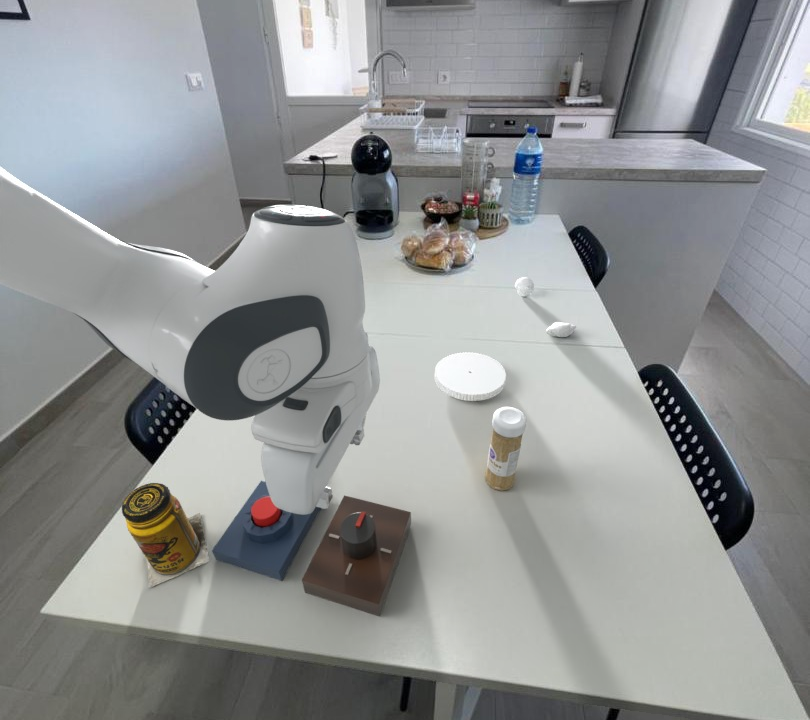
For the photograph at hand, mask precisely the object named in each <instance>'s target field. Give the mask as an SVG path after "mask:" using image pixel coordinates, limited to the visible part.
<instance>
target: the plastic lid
mask: <svg viewBox="0 0 810 720" xmlns="http://www.w3.org/2000/svg"><path fill="white" fill-rule="evenodd" d="M506 381H507V371H506V369H505V367H504V366H503V365H502V363H500V362H499V361H498V360H497V359H494V357H492V356H489V355H487V354H483V353H480V352H479V353H478V352H472V351H470V352H469V351H467V352H466V351H464V352H463V351H461V352H455V353H452V354H449V355H446V356H445V357H443V358H441V359H440V360H439V361H438V363H436V364H435V368H434V382H435V384H436V386H437V387H438V389H440V391H441V392H443V393H444V395H445V394H446V395H447V396H449V397H451V398H455V399H456V400H457V399H458V400H461V401H465V402H466V401H468V402H470V401H471V402H477V401H478V402H480V401H486V400H489V399H492V398H494V397H497V395H499V394H501V392H502V391H503V390H504V389H505V386H506Z"/></svg>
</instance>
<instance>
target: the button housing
mask: <svg viewBox="0 0 810 720" xmlns="http://www.w3.org/2000/svg"><path fill="white" fill-rule="evenodd" d="M263 497H270V495H269V492H268V489H267V485H266V482H265V480H260V481H259V483H258V484H257V486H256V487H255V489H254V490H253V492H252V493H251V494H250V496H249V497H248V498H247V500H246V501H245V503H244V504H243V506H242V507H241V509H240V510H239V511H238V513H237V514H236V515H235V517H234V518H233V520H232V521H231V522H230V524H228V525H229V526H228V527H227V529H226V530H225V531H224V533H223V534H222V535H221V536H220V538H219V539H218V541H217V543H216V544H215V545H214V547H213V548H212V550H211V553H212V555H213V557H214V559H215V560H216V561H217V562H222V563H224V564H227V565H231V566H233V567H237V568H240V569H243V570H246V571H249V572H252V573H256V574H258V575H262V576H265V577H269V578H271V579H275V580H277V581H281V582H282V581H283V580H284V578H285V577H286V575H287V573H288V571H289V569H290V567H291V565H292V564H293V562H294V560H295V558H296V556H297V554H298V553H299V551H300V548H301V547H302V545H303V544H304V542H305V539H306V537H307V536H308V534H309V532H310V530H311V529H312V526H313V525H314V523H315V521H316V519H317V517H318V515H319V513H320V512H321V510H322V508H320V507H315V509H314V511H313V512H312V513H311V514H306V515H301V514H295V513H290V512H287V511H284V510H281V509H280V511H281V514H280V517H279V519H278V520H277V522H275V523H274V524H273V525H271V526H267V527H261V526H258V525H257V524H256V523H255V522H254V519H253V517H252V514H251V509H252V506H253V504H254V503H255V502H256V501H257V500H259V499H261V498H263Z"/></svg>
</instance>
